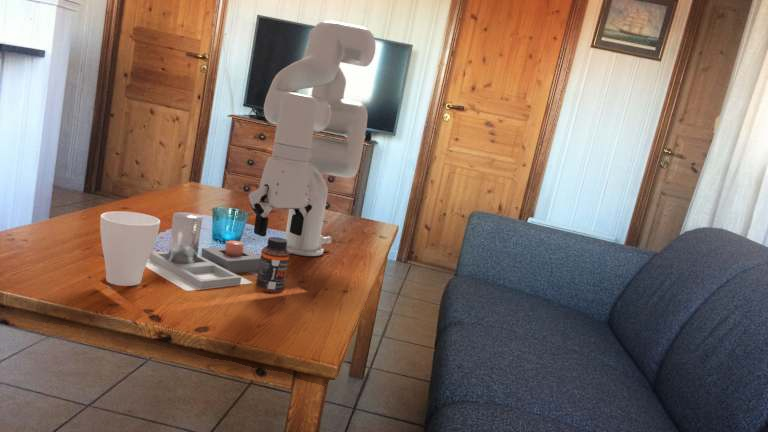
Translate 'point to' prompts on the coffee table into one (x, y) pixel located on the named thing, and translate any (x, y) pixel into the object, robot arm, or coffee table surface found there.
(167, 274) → the tray
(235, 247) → the button
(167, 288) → the coffee table surface
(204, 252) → the grey square block
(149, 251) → the cup
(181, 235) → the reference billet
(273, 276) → the supplement bottle
